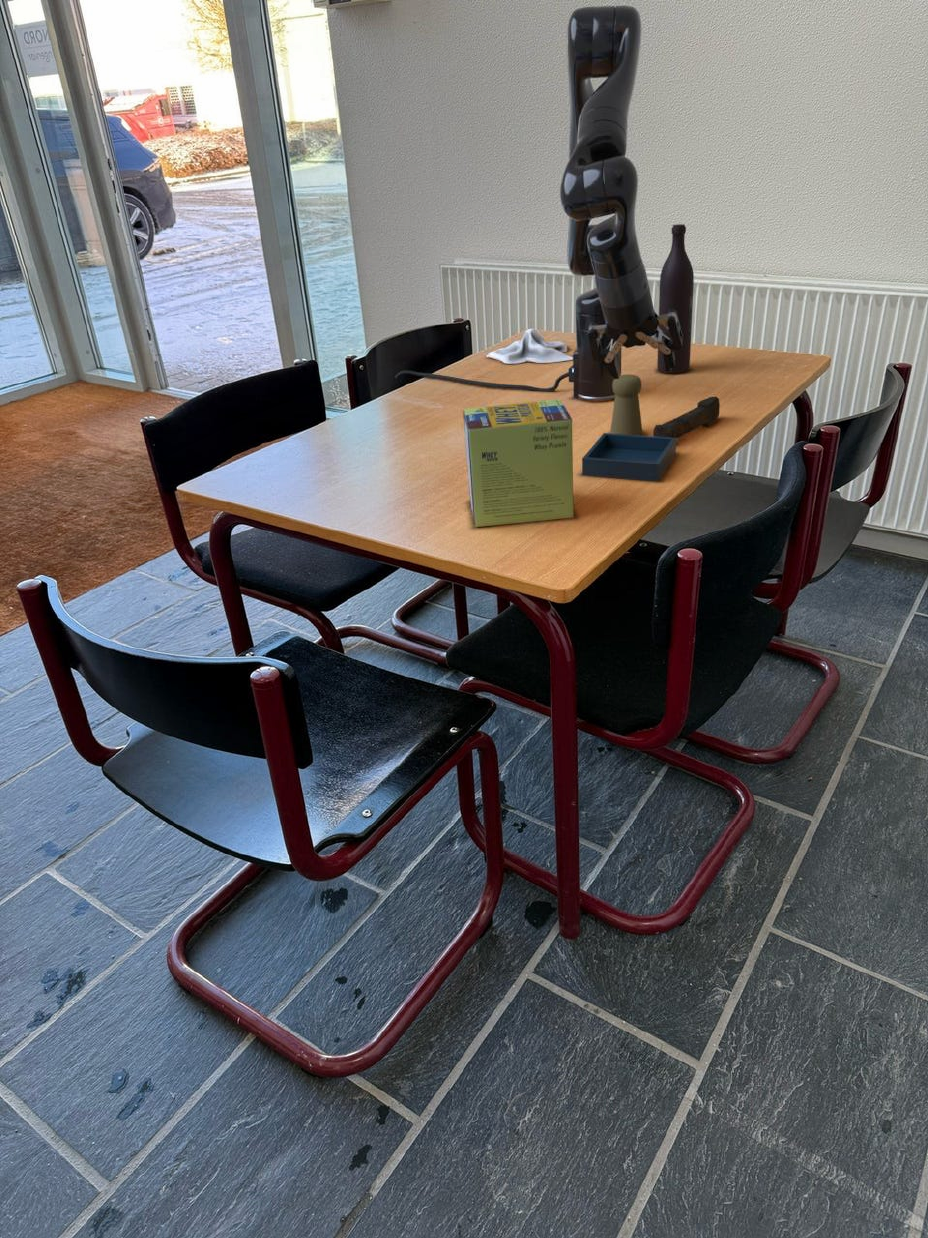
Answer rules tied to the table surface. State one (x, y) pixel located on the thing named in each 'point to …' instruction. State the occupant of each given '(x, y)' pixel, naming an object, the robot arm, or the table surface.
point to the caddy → (629, 457)
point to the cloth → (532, 350)
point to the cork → (626, 406)
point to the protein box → (519, 462)
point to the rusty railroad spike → (690, 419)
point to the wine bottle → (677, 298)
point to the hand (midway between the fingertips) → (643, 371)
